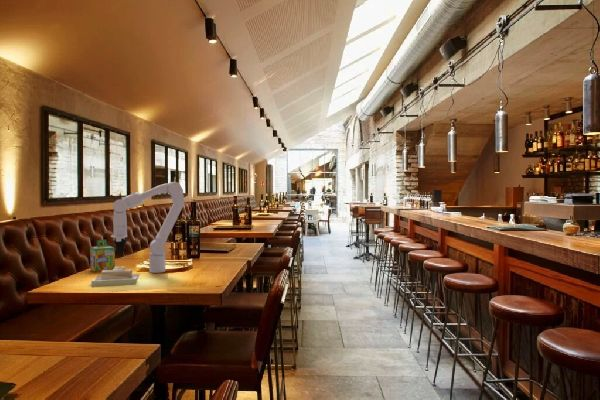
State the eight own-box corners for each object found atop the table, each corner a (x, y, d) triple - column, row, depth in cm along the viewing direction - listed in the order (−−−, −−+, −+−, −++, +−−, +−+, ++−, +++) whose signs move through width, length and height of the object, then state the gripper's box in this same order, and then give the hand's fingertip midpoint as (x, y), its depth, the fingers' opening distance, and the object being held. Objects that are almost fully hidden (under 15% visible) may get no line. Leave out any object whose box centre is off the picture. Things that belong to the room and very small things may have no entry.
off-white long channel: (93, 283, 195) (93, 278, 195) (137, 281, 200) (136, 276, 200) (91, 286, 191) (91, 281, 190) (136, 283, 195) (135, 278, 195)
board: (97, 277, 212) (97, 275, 212) (140, 275, 216) (140, 273, 216) (89, 288, 190) (89, 286, 190) (136, 286, 195) (136, 283, 195)
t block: (105, 276, 211) (105, 267, 210) (133, 274, 214) (133, 266, 213) (101, 281, 199) (101, 272, 199) (131, 280, 202) (131, 270, 202)
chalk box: (96, 273, 222) (95, 242, 222) (89, 270, 229) (89, 240, 229) (115, 270, 228) (115, 240, 228) (109, 268, 235) (108, 238, 235)
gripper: (112, 224, 222) (113, 253, 222) (108, 227, 207) (109, 258, 208) (128, 224, 223) (129, 252, 224) (125, 227, 209) (126, 257, 210)
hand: (120, 255), depth 216 cm, fingers closed
